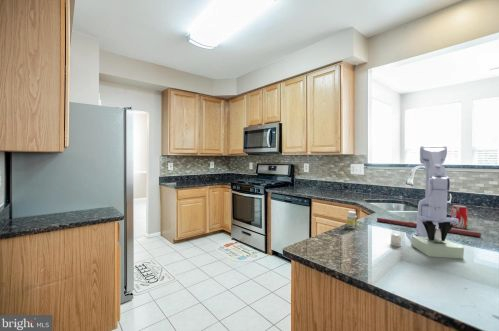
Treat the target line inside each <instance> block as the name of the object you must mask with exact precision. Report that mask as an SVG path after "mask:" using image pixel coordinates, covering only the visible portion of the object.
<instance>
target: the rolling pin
mask: <svg viewBox="0 0 499 331" xmlns="http://www.w3.org/2000/svg"><path fill="white" fill-rule="evenodd" d="M376 221H377V222H379V221H380V222H379V223H385V222H386V223H387V224H392V223H393V225H400V226H405V227H409V228H417V222H414V221H404V220H399V219H398V220H397V219H391V218H384V217H377V218H376ZM448 233H452V234H458V235H463V236H464V235H465V236H471V237H477V238H478V237H479V238H480V237H482V233H481V232H480V231H473V230H467V229H462V228H455V227H452V228H451V229H450V231H449V232H448Z"/></svg>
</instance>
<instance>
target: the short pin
mask: <svg viewBox="0 0 499 331" xmlns="http://www.w3.org/2000/svg"><path fill="white" fill-rule="evenodd" d="M401 241H402V235H401V234H398V233H391V234H390V246H392V245H393V247H398V248H399V247H401V246H402V244H401V243H402V242H401Z"/></svg>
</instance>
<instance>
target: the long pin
mask: <svg viewBox="0 0 499 331" xmlns="http://www.w3.org/2000/svg"><path fill="white" fill-rule="evenodd" d="M430 242H431V243H433V244H442V228H440V227H435V230H434V239H433V241H431V240H430Z"/></svg>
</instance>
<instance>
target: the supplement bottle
mask: <svg viewBox="0 0 499 331" xmlns="http://www.w3.org/2000/svg"><path fill="white" fill-rule="evenodd" d="M346 218H347V219H346V220H347V221H346V227H347V228H348V229H357V228H358V227H357V224H358V221H357V220H358V216H357V212H356V211H353V210H348V212H347V216H346Z"/></svg>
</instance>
